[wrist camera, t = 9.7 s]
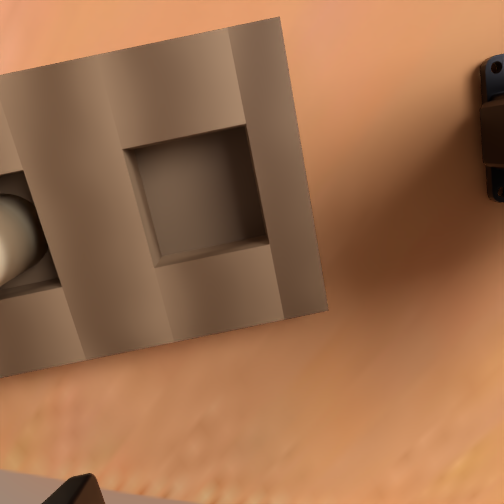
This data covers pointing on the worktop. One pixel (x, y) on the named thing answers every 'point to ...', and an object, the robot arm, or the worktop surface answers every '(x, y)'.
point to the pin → (19, 236)
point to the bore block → (157, 197)
